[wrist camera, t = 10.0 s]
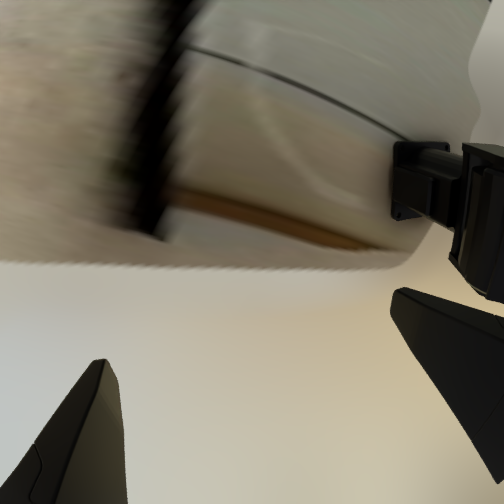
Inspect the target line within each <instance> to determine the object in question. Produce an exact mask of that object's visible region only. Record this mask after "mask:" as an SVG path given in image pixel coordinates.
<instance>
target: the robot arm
mask: <svg viewBox="0 0 504 504" xmlns="http://www.w3.org/2000/svg"><path fill="white" fill-rule="evenodd" d="M400 146H401V150H400ZM462 151H463V156H460V155H457V154H453V153H450V145H449V143H447V142H437V141H398V142H396V144H395V146H394V179H393V199H392V214H391V215H392V218H393V219H394V220H396V221H401V220H406V219H411V218H416V217H422V216H424V217H426V218H428V219H430V220H431V221H433V222H435V223H437V224H439V225H441V226H443V227H445V228H447V229H448V230H450V231H452V232H454V238H453V243H452V248H451V252H450V253H449V258H448V259H449V260H450V261H451V263H452V264H453V265H454V266H455V268H456V269H457V270H458V271H459V272H460V273H461V275H462V276H463V277H464V278H465V280H466V282H467V283H468V284H469V285H470V286H471V287H472V288H473V289H474V290H475V291H476V292H477V293H478V294H479V295H481V296H484V297H485V298H486V299H487V300H491V301H495V302H500V303H502V304H504V147H503V146H498V145H492V144H479V143H462ZM397 213H398V215H397ZM390 315H391V317H392V319H393V321H394V323H395V324H396V326H397V328H398V329H399V331H400V333H401V335H402V336H403V338H404V340H405V341H406V343H407V345H408V347H409V348H410V350H411V351H412V353H413V354H414V356H415V357H416V359H417V360H418V362H419V363H420V364H421V366H422V367H423V369H424V370H425V371H426V373H427V374H428V376H429V377H430V379H431V380H432V382H433V383H434V385H435V386H436V388H437V389H438V390H439V392H440V393H441V395H442V396H443V398H444V399H445V401H446V402H447V404H448V405H449V407H450V409H451V410H452V412H453V413H454V415H455V416H456V418H457V419H458V421H459V422H460V424H461V426H462V427H463V429H464V430H465V432H466V433H467V435H468V437H469V438H470V440H472V441H471V442H472V443H473V445H474V447H475V448H476V450H477V452H478V453H479V455H480V457H481V458H482V460H483V461H484V463H485V465H486V467H487V468H488V470H489V472H490V473H491V475H492V477H493V479H494V480H495V482H496V483H497V484H499V483H500V482H501V481H503V480H504V317H501V316H497V315H493V314H491V313H488V312H485V311H481V310H478V309H475V308H472V307H468V306H465V305H462V304H459V303H456V302H452V301H449V300H446V299H443V298H439V297H436V296H433V295H430V294H427V293H423V292H420V291H417V290H413V289H410V288H407V287H403V288H400V289H396V290H395V291H394V293H393V296H392V302H391V307H390ZM0 504H128V501H127V488H126V474H125V451H124V428H123V419H122V411H121V403H120V393H119V384H118V380H117V377H116V376H115V374H114V372H113V370H112V368H111V366H110V363H109V362H108V361H107V359H99V360H94V361H92V362H91V364H90V365H89V366H88V368H87V369H86V370H85V372H84V373H83V374H82V376H81V377H80V378H79V380H78V381H77V382H76V384H75V385H74V386H73V388H72V389H71V390H70V392H69V393H68V395H67V396H66V397H65V399H64V400H63V401H62V403H61V404H60V406H59V407H58V409H57V410H56V411H55V413H54V414H53V415H52V417H51V418H50V420H49V421H48V422H47V424H46V425H45V427H44V428H43V430H42V431H41V432H40V434H39V435H38V437H37V438H36V440H35V441H34V444H32V446H31V447H30V448H29V450H28V451H27V453H26V454H25V456H24V457H23V459H22V460H21V461H20V463H19V464H18V466H17V467H16V468H15V470H14V471H13V472H12V473H11V475H10V476H9V477H8V478H7V480H6V481H5V482H4V483H3V485H2V486H1V487H0Z"/></svg>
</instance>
